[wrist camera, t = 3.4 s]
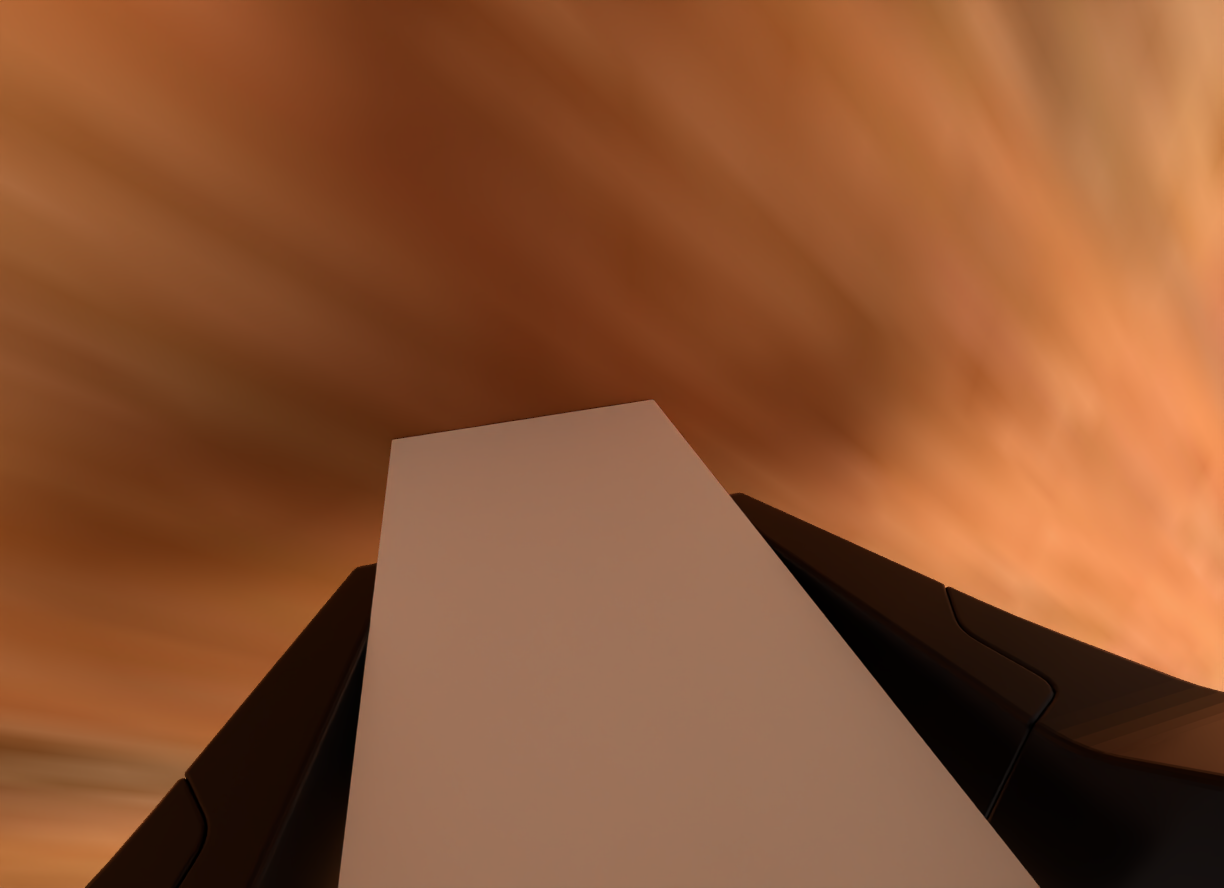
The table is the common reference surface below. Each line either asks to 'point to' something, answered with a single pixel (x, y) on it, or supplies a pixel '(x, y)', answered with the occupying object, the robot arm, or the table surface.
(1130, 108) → the table surface
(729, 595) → the domino
